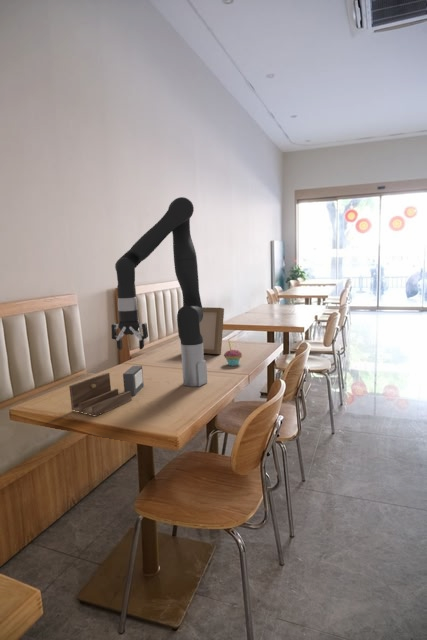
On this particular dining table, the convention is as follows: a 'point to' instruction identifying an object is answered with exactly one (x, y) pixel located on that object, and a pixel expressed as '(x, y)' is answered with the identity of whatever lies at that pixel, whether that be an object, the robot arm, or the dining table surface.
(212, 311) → the photo frame
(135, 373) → the mini frame
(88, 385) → the picture ledge
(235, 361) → the cupcake
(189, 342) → the robot arm
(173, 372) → the dining table surface
